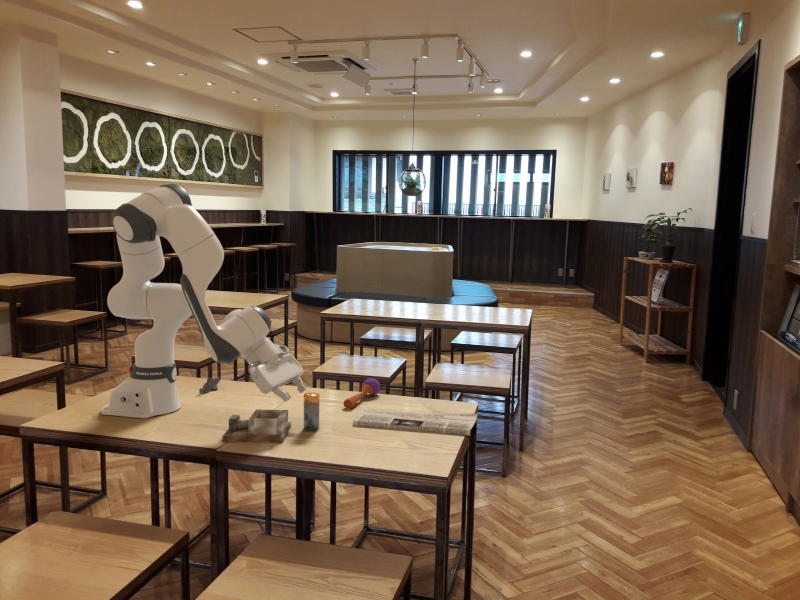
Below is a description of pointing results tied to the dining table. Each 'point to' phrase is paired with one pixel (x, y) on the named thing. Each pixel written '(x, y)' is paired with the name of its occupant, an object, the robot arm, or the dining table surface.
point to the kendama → (363, 392)
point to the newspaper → (417, 421)
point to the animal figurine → (210, 385)
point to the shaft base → (259, 427)
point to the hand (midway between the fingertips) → (296, 395)
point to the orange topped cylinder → (311, 411)
